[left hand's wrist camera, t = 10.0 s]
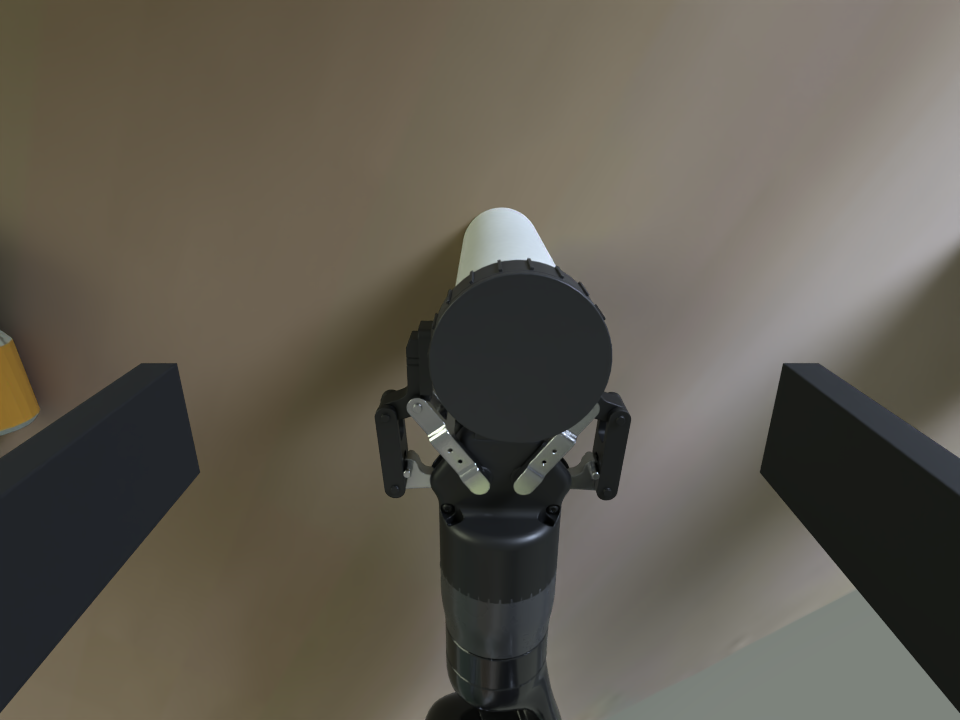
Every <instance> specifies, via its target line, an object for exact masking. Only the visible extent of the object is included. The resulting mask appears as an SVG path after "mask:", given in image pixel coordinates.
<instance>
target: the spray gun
mask: <svg viewBox="0 0 960 720" xmlns="http://www.w3.org/2000/svg"><path fill="white" fill-rule="evenodd" d="M39 411H40V408H39V405H38V403H37V400H36V398H35V395H34V392H33V390H32V387H31V385H30V382H29V380H28V377H27V375H26V372H25V370H24V367H23V364H22V362H21V359H20V357H19V354H18V352H17V349H16V347H15V344H14V342H13V339H12V338H11V337H10V336H8V335H7V334H6V333H4V332H3V331H1V330H0V436H1V435H4V434H8V433H11V432H14V431H16V430H19V429H21V428H23V427H25V426H27V425H28V424H30V423H31V422H33V421H34V420H35V418H36V417H37V415H38V414H39Z"/></svg>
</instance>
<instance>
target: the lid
mask: <svg viewBox="0 0 960 720" xmlns="http://www.w3.org/2000/svg"><path fill="white" fill-rule="evenodd" d="M588 295H589V294H588V292H587V291H586V289H585V288H584V286H583V285H582V283H581V282H579V283H577V282H576V281H575V280H574V279H573V278H571V277H570V276H569V275H567V274H566V273H564V272H563V271H561V270H560V268H559V267H558V266H555V267H553V266H551V265H548V264H544V263H541V262H537V261H531V259H530V258H527V260H507V261H501V260H497V263H493V264H490V265H488V266H485V267H482V268H480V269H478V270H477V271H475V272H473V270H472V271H470V275H468V276H467V277H466V278H464V279H463V280H462V281H461V282H460V283H459V284H457V285H456V286H455V287H454V289H453V290H451V289H450V290H449V291H448V295H447V298H446V299H445V301H444V303H443V304H442V306H441V308H440V311H439V313H438V314H437V313H436V314H435V317H434V321H433V325H432V329H433V335H432V339H431V341H430V345H429V349H428V353H427V357H429V371H430V377H431V381H432V384H433V387H434V390H435V392H436V394H437V396H438V398H439V400H440V401H441V403H442V405H443V406H444V407H445V409H446V410H447V411H448V412H449V414H450V415H451V416H452V417H453V418H455V419H456V420H457V421H458V422H459V423H460V424H462V425H463V426H464V427H466V428H467V429H469V430H471V431H472V432H474V433H476V434H478V435H481V436H483V437H486V438H488V439H492V440H496V441H501V442H507V443H529V442H536V441H541V440H545V439H548V438H551V437H554V436H556V435H558V434H561V433H563V432H565V431H566V430H568V429H570V428H571V427H573V426H575V425H576V424H577V423H578V422H580V421H581V420H582V419H583V418H584V417H585V416H586V415H587V414H588V413H589V412H590V411H591V410H592V409H593V408H594V406H595V405H596V404H597V402H598V401H599V399H600V397H601V396H602V394H603V392H604V390H605V388H606V385H607V383H608V380H609V376H610V372H611V366H612V344H611V339H610V335H609V332H608V329H607V326H606V324H605V322H604V320H605V317H604V315H603V314H602V312H601V311H600V309H599V308H598V306H597V305H596V304H595V305H594V304H593V302H592V301H591V299H590V298H589V296H588Z"/></svg>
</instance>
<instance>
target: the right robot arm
mask: <svg viewBox="0 0 960 720" xmlns="http://www.w3.org/2000/svg"><path fill="white" fill-rule="evenodd" d="M432 325H433V321H421V323H420V326H419V329H418V331H412V333H411V336H410V339H409V341H408V344H407V347H406V357H407V380H408V386H407V387H405V388H403V389H401V390H398V391H396V390H387V391H385V392H384V393H383V395H382V398H381V403H380V405H379V408H378V409H377V411H376V414H375V423H376V430H377V437H378V444H379V452H380V459H381V466H382V473H383V481H384V488H385V492H386V494H387V495H388V496H390V497H392V498H399V497H401V496H403V495H404V493H405V489H408V488H432V490H433V491H434V492H435V494H436V496H437V498H438V500H439V522H440V568H441V594H442V602H443V607H444V612H445V618H446V661H447V670H448V676H449V679H450V682H451V684H452V687H453V688H454V690H455V692H454V693H451V694H449V695H446V696H444V697H442V698H440V699H439V700H437V701H436V702H435V703H434V704H433V705H432V707H431V708H430V710H429V712H428V714H427V716H426V719H425V720H561V716H560V713H559V710H558V707H557V704H556V702H555V699H554V696H553V693H552V689H551V685H550V680H549V675H548V669H547V663H546V654H547V638H548V624H549V618H550V614H551V611H552V606H553V602H554V595H555V582H556V569H557V555H558V541H559V528H560V515H561V504H562V501H563V499H564V497H565V495H566V494H567V493H568V491H569V490H570V489H583V490H596V492H597V495H598V497H599V498H600V499H602V500H611V499H613V498H614V497H615V496H616V494H617V491H618V486H619V480H620V475H621V470H622V465H623V459H624V454H625V449H626V444H627V438H628V433H629V428H630V423H631V417H630V414H629V413H628V411H627V409H626V407H625V405H624V403H623V401H622V399H621V397H620V396H619V394H617V393H615V392H609V393H606V392H603V394H602V396H601V397H600V399H599V401H598V402H597V404H596V405H595V406H594V408H593V409H592V410H591V411H590V412H589V413H588V414H587V415H586V416H585V417H584V418H583V419H582V420H581V421H580V422H578V423H577V424H576V425H575V426H573V427H571V428H570V429H568V430H566V431H565V432H563V433H561V434H558V435H556V436H554V437H551V438H548V439H545V440H541V441H536V442H529V443H507V442H501V441H496V440H492V439H488V438H486V437H483V436H481V435H478V434H476V433H474V432H472V431H471V430H469V429H467V428H466V427H464V426H463V425H462V424H460V423H459V422H458V421H457V420H456V419H455V418H453V417H452V416H451V415H450V414H449V412H448V411H447V410H446V409H445V407H444V406H443V405H442V403H441V401H440V400H439V398H438V396H437V394H436V392H435V390H434V387H433V384H432V381H431V377H430V371H429V357H427V353H428V349H429V345H430V341H431V339H432V335H433V329H432ZM407 417H412V418H413V419H414V420H415V421H416V422H417V423H418V424H419V426H420V427H421V428H422V429H423V430H424V431H425V432H426V433H427V435H428V437H429V440H430V442H431V444H432V445H433V447H434V448H435V449H436V450H437V451H438V452H439V453H440V455H439V456H438V457H437V459H436V460H435V461H434V463H433V465H432V466H426V465H424V464H423V463H422V462H421V460H420V457H419V455H418V454H417V453H415V451H413V450H409V451H408V445H407V437H406V428H405V420H404V418H407ZM594 418H595V419H598V422H597V428H596V434H595V440H594V446H593V452H586V453H585V455H584V456H583V457H582V459H581V462H580V463H579V465H577V466H576V467H572V468H569V466H568V464H567V462H566V461H565V460H564V458H563V456H564V455H565V454H566V453H567V452H568V451H569V450H570V449H571V448H572V447H573V446H574V444H575V442H576V439H577V436H578V435H579V434H580V433H581V432H582V431H583V430H584V428H585V427H586V426H587V425H588V424H589V423H590V422H591V421H592V420H593V419H594Z"/></svg>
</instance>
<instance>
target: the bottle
mask: <svg viewBox="0 0 960 720" xmlns="http://www.w3.org/2000/svg"><path fill="white" fill-rule="evenodd" d="M527 258H530V259H531V261H537V262H541V263H544V264H548V265H551V266H553V267H555V266H556V265H555V264H554V262H553V260H552V258H551V256H550V255H549V253H548V251H547V249H546V248H545V246H544V244H543V242H542V240H541V239H540V237H539V235H538V233H537V231H536V230H535V228H534V226H533V224H532V223H531V222H530V221H529V219H528V218H527V217H525V216H524V215H523V214H521V213H520V212H518V211H516V210H513V209H509V208H494V209H490V210H487V211H485V212H483V213H481V214H480V215H478V216H477V217H476V218H475V219H474V220H473V221H472V222H471V223H470V225H469V226H468V228H467V230H466V232H465V235H464V239H463V245H462V251H461V257H460V263H459V269H458V274H457V280H456V285H457V284H459V283H460V282H461V281H462V280H463V279H464V278H466V277H467V276H468V275H470V271H472V270H473V272H475V271H477V270H478V269H480V268H482V267H485V266H488V265H490V264H493V263H497V260H501V261H507V260H527Z"/></svg>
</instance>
